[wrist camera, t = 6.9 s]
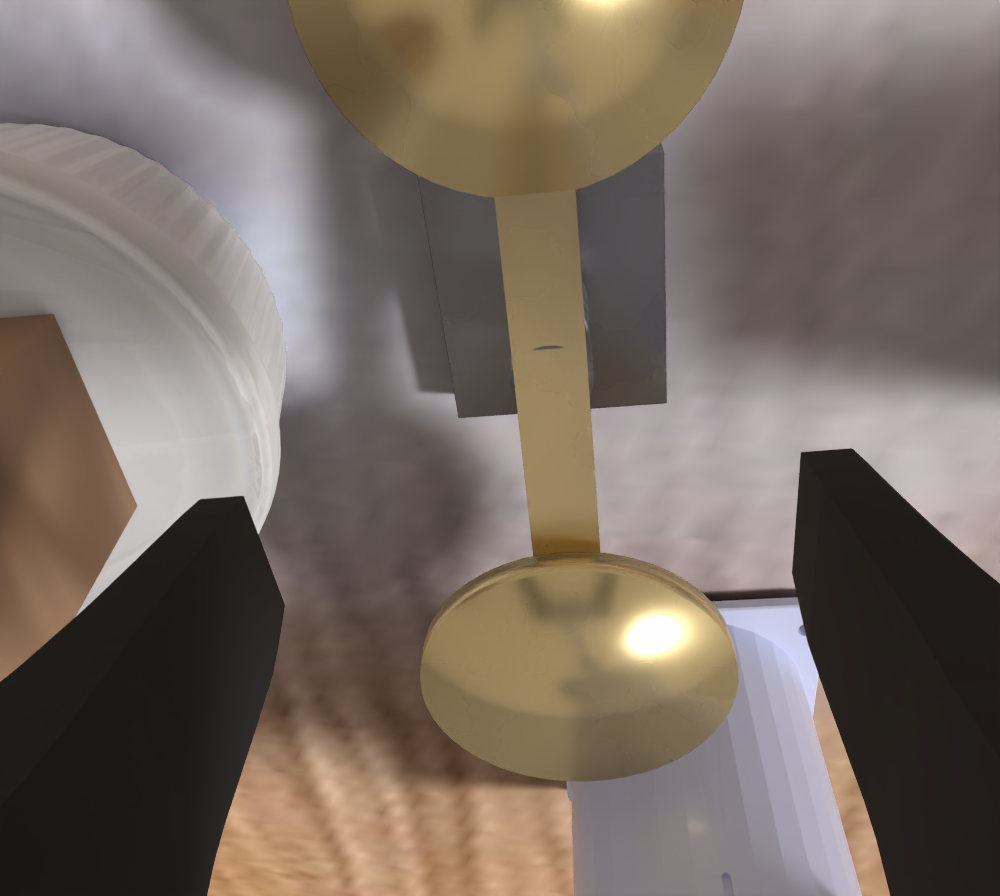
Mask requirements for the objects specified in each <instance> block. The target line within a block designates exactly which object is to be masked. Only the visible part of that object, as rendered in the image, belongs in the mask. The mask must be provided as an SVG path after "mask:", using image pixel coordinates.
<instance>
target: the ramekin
mask: <svg viewBox="0 0 1000 896" xmlns="http://www.w3.org/2000/svg"><path fill="white" fill-rule="evenodd" d="M44 314H54V316H55V318H56V320H57V323H58V325H59V327H60V329H61V332H62V334H63V336H64V339H65V341H66V343H67V345H68V348H69V350H70V352H71V355H72V357H73V359H74V362H75V364H76V366H77V368H78V371H79V373H80V375H81V378H82V380H83V382H84V384H85V387H86V389H87V391H88V394H89V396H90V398H91V400H92V403H93V405H94V407H95V410H96V412H97V414H98V417H99V419H100V421H101V423H102V426H103V428H104V430H105V433H106V435H107V437H108V439H109V442H110V444H111V446H112V449H113V451H114V453H115V455H116V458H117V460H118V462H119V465H120V467H121V469H122V472H123V474H124V476H125V478H126V481H127V483H128V485H129V488H130V490H131V492H132V494H133V497H134V499H135V501H136V504H137V508H136V510H135V512H134V513H133V515H132V517H131V519H130V520H129V522H128V524H127V526H126V528H125V529H124V531H123V533H122V535H121V537H120V538H119V540H118V542H117V544H116V545H115V547H114V549H113V551H112V553H111V554H110V556H109V558H108V560H107V562H106V563H105V565H104V567H103V569H102V570H101V572H100V574H99V576H98V578H97V579H96V581H95V583H94V585H93V587H92V588H91V590H90V592H89V594H88V595H87V597H86V599H85V601H84V603H83V604H82V606H81V608H80V610H79V612H78V613H77V615H78V614H79V613H80V612H82V611H83V610H84V609H85V608H86V607H87V606H88V605H89V604H90V603H91V602H92V601H93V600H95V599H96V598H97V597H98V596H99V595H100V594H101V593H102V592H103V591H104V590H105V589H106V588H107V587H108V586H109V585H110V584H111V583H112V582H113V581H114V580H115V579H116V578H117V577H119V576H120V575H121V574H122V573H123V572H124V571H125V570H126V569H127V568H128V567H129V566H130V565H131V564H132V563H133V562H134V561H135V560H136V559H137V558H138V557H139V556H140V555H141V554H142V553H143V552H144V551H145V550H146V549H147V548H148V547H150V546H151V545H152V544H153V543H154V542H155V541H156V540H157V539H158V538H159V537H160V536H161V535H162V534H163V533H164V532H165V531H166V530H167V529H168V528H169V527H170V526H171V525H172V524H173V523H174V522H175V521H176V520H177V519H178V518H180V517H181V516H182V515H183V514H184V513H185V512H186V511H187V510H188V509H189V508H190V507H192V506H193V505H194V504H195V503H196V502H197V501H198V500H200V499H208V498H221V497H233V496H244V498H245V501H246V503H247V506H248V509H249V511H250V514H251V517H252V519H253V522H254V525H255V527H256V530H257V533H258V534H259V532H260V530H261V528H262V526H263V524H264V522H265V520H266V517H267V515H268V512H269V510H270V507H271V504H272V501H273V498H274V495H275V491H276V486H277V481H278V476H279V468H280V457H281V446H280V428H279V419H280V413H281V406H282V400H283V394H284V387H285V381H286V363H285V360H286V343H285V339H284V335H283V323H282V319H281V316H280V314H279V312H278V309H277V305H276V300H275V297H274V294H273V292H272V290H271V288H270V287H269V285H268V282H267V280H266V277H265V275H264V273H263V270H262V268H261V267H260V265H259V264H258V263H257V261H256V260H255V259H254V257H253V255H252V253H251V250H250V249H249V247H248V246H247V245H246V243H245V242H244V241H243V240H242V239H241V238H240V236H239V235H238V234H237V232H236V231H235V229H234V228H233V227H232V225H231V224H230V223H229V222H228V221H227V220H226V219H225V218H224V217H223V216H221V215H220V213H219V212H218V211H217V210H216V209H215V207H214V206H213V205H212V204H211V203H210V202H209V201H208V200H206V199H205V198H203V197H202V196H201V195H199V194H198V193H197V192H196V191H195V190H194V189H193V188H192V187H191V186H190V185H189V184H188V183H187V182H186V181H184V180H183V179H181V178H179V177H177V176H175V175H174V174H172V173H171V172H170V171H168V170H167V169H166V168H165V167H164V166H163V165H162V164H160V163H158V162H156V161H154V160H151V159H149V158H147V157H145V156H143V155H141V154H140V153H139V152H137V151H136V150H134V149H131V148H129V147H126V146H122V145H119V144H117V143H115V142H113V141H111V140H109V139H107V138H104V137H101V136H97V135H89V134H86V133H83V132H80V131H78V130H75V129H72V128H67V127H53V126H48V125H43V124H15V123H1V124H0V318H7V317H19V316H31V315H44ZM77 615H76V616H77Z"/></svg>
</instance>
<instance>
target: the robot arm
mask: <svg viewBox="0 0 1000 896" xmlns="http://www.w3.org/2000/svg"><path fill="white" fill-rule="evenodd" d="M792 574H793V579H794V584H795V588H796V593H797V597H790V598H770V599H750V600H729V601H711V602H712V603H713V604H714V605H715V607H716V608H717V609H718V611H719V612H720V614H721V615H722V616H723V618H724V620H725V622H726V624H727V626H728V628H729V631H730V634H731V638H732V642H733V646H734V650H735V655H736V660H737V664H738V677H739V682H738V688H737V695H736V697H735V700H734V703H733V706H732V708H731V710H730V712H729V713H728V715H727V717H726V719H725V720H724V722H723V723H722V724H721V725H720V727H719V728H718V729H717V730H716V731H715V733H713V734H712V735H711V736H710V737H709V738H708V739H707V740H706V741H705V742H704V743H702V744H701V745H700V746H698V747H697V748H695V749H694V750H693V751H691V752H690V753H688V754H686V755H684V756H683V757H681V758H679V759H677V760H676V761H673V762H671V763H669V764H666V765H664V766H662V767H660V768H657V769H654V770H651V771H647V772H644V773H641V774H637V775H633V776H628V777H624V778H617V779H611V780H602V781H588V782H580V781H566V783H567V791H568V798H569V800H570V801H571V802H572V837H573V882H574V896H862V894H861V890H860V887H859V883H858V879H857V876H856V872H855V869H854V865H853V862H852V858H851V854H850V851H849V847H848V844H847V840H846V836H845V833H844V829H843V826H842V822H841V819H840V815H839V811H838V808H837V804H836V801H835V797H834V794H833V790H832V786H831V783H830V779H829V776H828V772H827V768H826V765H825V761H824V758H823V754H822V751H821V747H820V743H819V740H818V736H817V733H816V729H815V725H814V722H813V712H814V704H815V697H816V689H817V681H818V674H819V677H820V680H821V683H822V685H823V688H824V691H825V694H826V697H827V699H828V702H829V705H830V708H831V711H832V713H833V716H834V719H835V722H836V724H837V727H838V730H839V733H840V735H841V738H842V741H843V744H844V746H845V749H846V752H847V755H848V758H849V760H850V763H851V766H852V769H853V771H854V774H855V777H856V780H857V782H858V785H859V788H860V791H861V793H862V796H863V799H864V802H865V805H866V808H867V811H868V814H869V818H870V821H871V824H872V827H873V830H874V833H875V837H876V840H877V844H878V848H879V852H880V856H881V860H882V864H883V868H884V872H885V876H886V880H887V884H888V888H889V892H890V896H1000V584H999V583H998V582H997V581H996V580H995V579H993V578H992V577H991V576H990V575H989V574H987V573H986V572H985V571H984V570H983V569H981V568H980V567H979V566H978V565H977V564H975V563H974V562H973V561H972V560H971V559H970V558H969V557H968V556H966V555H965V554H964V553H963V552H962V551H961V550H960V549H958V548H957V547H956V546H955V545H954V544H953V543H952V542H951V541H949V540H948V539H947V538H946V537H945V536H944V535H943V534H941V533H940V532H939V531H938V530H937V529H936V528H935V527H934V526H933V525H932V524H931V523H929V522H928V521H927V520H926V519H925V518H924V517H923V516H922V515H921V514H920V513H919V512H918V511H917V510H916V509H915V508H913V507H912V506H911V505H910V504H909V503H908V502H907V501H906V500H905V499H904V498H903V497H902V496H901V495H900V494H899V493H898V492H897V491H896V490H895V489H894V488H893V487H892V486H891V485H890V484H889V483H888V482H887V481H886V480H885V479H883V478H882V477H881V476H880V475H879V474H878V473H877V472H876V471H875V470H874V469H873V468H872V467H871V466H870V465H869V464H868V463H867V462H866V461H865V460H864V459H863V458H862V457H861V456H860V455H859V454H858V453H856V452H855V451H854V450H853V449H839V450H826V451H813V452H801V459H800V473H799V487H798V501H797V514H796V528H795V542H794V556H793V569H792ZM284 607H285V605H284V602H283V599H282V597H281V594H280V591H279V589H278V586H277V583H276V581H275V578H274V575H273V573H272V570H271V567H270V565H269V562H268V559H267V557H266V554H265V551H264V549H263V546H262V543H261V541H260V538H259V535H258V533H257V530H256V527H255V525H254V522H253V519H252V517H251V514H250V511H249V509H248V506H247V503H246V501H245V498H244V496H233V497H221V498H208V499H200V500H198V501H197V502H196V503H195V504H194V505H193V506H192V507H190V508H189V509H188V510H187V511H186V512H185V513H184V514H183V515H182V516H181V517H180V518H178V519H177V520H176V521H175V522H174V523H173V524H172V525H171V526H170V527H169V528H168V529H167V530H166V531H165V532H164V533H163V534H162V535H161V536H160V537H159V538H158V539H157V540H156V541H155V542H154V543H153V544H152V545H151V546H150V547H148V548H147V549H146V550H145V551H144V552H143V553H142V554H141V555H140V556H139V557H138V558H137V559H136V560H135V561H134V562H133V563H132V564H131V565H130V566H129V567H128V568H127V569H126V570H125V571H124V572H123V573H122V574H121V575H120V576H119V577H117V578H116V579H115V580H114V581H113V582H112V583H111V584H110V585H109V586H108V587H107V588H106V589H105V590H104V591H103V592H102V593H101V594H100V595H99V596H98V597H97V598H96V599H95V600H93V601H92V602H91V603H90V604H89V605H88V606H87V607H86V608H85V609H84V610H83V611H82V612H80V613H79V614H78V615H77V616H76V617H75V618H74V619H72V620H71V621H70V622H69V623H68V624H67V625H66V626H65V627H63V628H62V629H61V630H60V631H59V632H58V633H57V634H56V635H54V636H53V637H52V638H51V639H50V640H49V641H48V642H47V643H45V644H44V645H43V646H42V647H41V648H40V649H39V650H37V651H36V652H35V653H34V654H33V655H32V656H31V657H30V658H28V659H27V660H26V661H25V662H24V663H23V664H21V665H20V666H19V667H18V668H17V669H15V670H14V671H13V672H12V673H11V674H9V675H8V676H7V677H6V678H4V679H3V680H2V681H1V682H0V896H207V893H208V888H209V884H210V879H211V874H212V870H213V865H214V861H215V857H216V853H217V850H218V846H219V843H220V839H221V835H222V832H223V828H224V825H225V822H226V819H227V816H228V812H229V809H230V806H231V803H232V800H233V797H234V794H235V791H236V788H237V785H238V782H239V779H240V776H241V772H242V769H243V766H244V763H245V760H246V757H247V754H248V751H249V748H250V745H251V742H252V739H253V736H254V733H255V729H256V726H257V723H258V720H259V717H260V714H261V711H262V707H263V704H264V701H265V698H266V695H267V692H268V688H269V685H270V682H271V678H272V675H273V670H274V665H275V660H276V655H277V650H278V644H279V638H280V632H281V626H282V620H283V613H284ZM802 625H804V626H802Z"/></svg>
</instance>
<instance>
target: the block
mask: <svg viewBox="0 0 1000 896" xmlns="http://www.w3.org/2000/svg"><path fill="white" fill-rule="evenodd" d="M136 508H137V504H136V501H135V499H134V497H133V494H132V492H131V490H130V488H129V485H128V483H127V481H126V478H125V476H124V474H123V472H122V469H121V467H120V465H119V462H118V460H117V458H116V455H115V453H114V451H113V449H112V446H111V444H110V442H109V439H108V437H107V435H106V433H105V430H104V428H103V426H102V423H101V421H100V419H99V417H98V414H97V412H96V410H95V407H94V405H93V403H92V400H91V398H90V396H89V394H88V391H87V389H86V387H85V384H84V382H83V380H82V378H81V375H80V373H79V371H78V368H77V366H76V364H75V362H74V359H73V357H72V355H71V352H70V350H69V348H68V345H67V343H66V341H65V339H64V336H63V334H62V332H61V329H60V327H59V325H58V323H57V320H56V318H55V316H54V314H44V315H31V316H19V317H7V318H0V682H1V681H2V680H3V679H4V678H6V677H7V676H8V675H9V674H11V673H12V672H13V671H14V670H15V669H17V668H18V667H19V666H20V665H21V664H23V663H24V662H25V661H26V660H27V659H28V658H30V657H31V656H32V655H33V654H34V653H35V652H36V651H37V650H39V649H40V648H41V647H42V646H43V645H44V644H45V643H47V642H48V641H49V640H50V639H51V638H52V637H53V636H54V635H56V634H57V633H58V632H59V631H60V630H61V629H62V628H63V627H65V626H66V625H67V624H68V623H69V622H70V621H71V620H72V619H74V618H75V617H76V615H77V613H78V612H79V610H80V608H81V606H82V604H83V603H84V601H85V599H86V597H87V595H88V594H89V592H90V590H91V588H92V587H93V585H94V583H95V581H96V579H97V578H98V576H99V574H100V572H101V570H102V569H103V567H104V565H105V563H106V562H107V560H108V558H109V556H110V554H111V553H112V551H113V549H114V547H115V545H116V544H117V542H118V540H119V538H120V537H121V535H122V533H123V531H124V529H125V528H126V526H127V524H128V522H129V520H130V519H131V517H132V515H133V513H134V512H135V510H136Z"/></svg>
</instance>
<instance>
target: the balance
mask: <svg viewBox="0 0 1000 896" xmlns="http://www.w3.org/2000/svg"><path fill="white" fill-rule="evenodd" d="M288 3H289V7H290V10H291V13H292V17H293V20H294V24H295V27H296V31H297V34H298V36H299V38H300V41H301V43H302V46H303V48H304V51H305V53H306V55H307V58H308V60H309V62H310V64H311V66H312V68H313V69H314V71H315V73H316V75H317V77H318V78H319V80H320V82H321V84H322V86H323V87H324V89H325V90H326V92H327V93H328V95H329V96H330V97H331V99H332V100H333V102H334V103H335V104H336V106H337V107H338V109H339V110H340V111H341V113H342V114H343V115H344V116H345V117H346V118H347V119H348V120H349V122H350V123H351V124H352V125H353V126H354V127H355V128H356V129H357V130H358V131H359V132H360V134H361V135H362V136H364V137H365V138H366V139H367V140H368V141H369V142H371V143H372V144H373V145H374V146H375V147H376V148H377V149H379V150H380V151H381V152H382V153H383V154H385V155H386V156H388V157H389V158H391V159H392V160H394V161H395V162H397V163H398V164H400V165H401V166H403V167H404V168H406V169H407V170H409V171H411V172H413V173H415V174H417V175H418V182H419V187H420V193H421V199H422V205H423V211H424V217H425V223H426V229H427V235H428V240H429V246H430V252H431V258H432V264H433V270H434V276H435V282H436V288H437V293H438V299H439V305H440V311H441V317H442V323H443V329H444V335H445V341H446V346H447V352H448V358H449V364H450V370H451V376H452V382H453V388H454V394H455V400H456V405H457V411H458V417H459V418H466V417H480V416H494V415H508V414H518V420H519V429H520V438H521V447H522V456H523V466H524V475H525V484H526V493H527V502H528V511H529V521H530V530H531V539H532V548H533V557H528V558H523V559H520V560H517V561H513V562H510V563H507V564H504V565H501V566H499V567H497V568H494V569H492V570H490V571H488V572H485V573H483V574H482V575H480V576H478V577H477V578H475V579H473V580H471V581H470V582H468V583H467V584H465V585H464V586H463V587H462V588H460V589H459V590H458V591H457V592H455V593H454V594H453V595H452V596H451V597H450V598H449V599H448V600H447V601H446V602H445V603H444V604H443V605H442V607H441V608H440V609H439V611H438V612H437V614H436V615H435V617H434V618H433V620H432V622H431V624H430V627H429V629H428V631H427V634H426V638H425V642H424V646H423V653H422V660H421V669H420V684H421V691H422V695H423V698H424V701H425V704H426V707H427V708H428V710H429V712H430V714H431V716H432V717H433V719H434V720H435V722H436V723H437V724H438V725H439V727H440V728H441V729H442V731H443V732H444V733H446V734H447V735H448V736H449V737H450V738H451V739H452V740H453V741H454V742H455V743H457V744H458V745H459V746H461V747H462V748H463V749H465V750H466V751H468V752H469V753H471V754H473V755H474V756H476V757H478V758H480V759H481V760H484V761H486V762H488V763H490V764H492V765H495V766H497V767H500V768H503V769H506V770H508V771H511V772H514V773H518V774H522V775H526V776H530V777H536V778H542V779H548V780H558V781H580V782H588V781H602V780H611V779H617V778H624V777H628V776H633V775H637V774H641V773H644V772H647V771H651V770H654V769H657V768H660V767H662V766H664V765H666V764H669V763H671V762H673V761H676V760H677V759H679V758H681V757H683V756H684V755H686V754H688V753H690V752H691V751H693V750H694V749H695V748H697V747H698V746H700V745H701V744H702V743H704V742H705V741H706V740H707V739H708V738H709V737H710V736H711V735H712V734H713V733H715V731H716V730H717V729H718V728H719V727H720V725H721V724H722V723H723V722H724V720H725V719H726V717H727V715H728V713H729V712H730V710H731V708H732V706H733V703H734V700H735V697H736V695H737V688H738V682H739V677H738V664H737V660H736V655H735V650H734V646H733V642H732V638H731V634H730V631H729V628H728V626H727V624H726V622H725V620H724V618H723V616H722V615H721V614H720V612H719V611H718V609H717V608H716V607H715V605H714V604H713V603H712V602H711V601H710V600H709V599H708V598H707V597H706V596H705V595H704V594H703V593H702V592H701V591H699V590H698V589H697V588H696V587H694V586H693V585H692V584H690V583H689V582H688V581H686V580H684V579H682V578H681V577H679V576H677V575H675V574H674V573H672V572H670V571H667V570H665V569H663V568H660V567H658V566H656V565H653V564H650V563H647V562H644V561H640V560H637V559H634V558H630V557H624V556H619V555H614V554H607V553H600V541H599V526H598V512H597V497H596V483H595V468H594V453H593V439H592V424H591V409H592V408H606V407H620V406H634V405H648V404H662V403H667V392H666V300H665V207H664V151H663V148H662V145H661V142H662V141H663V140H664V139H665V138H666V137H667V136H668V135H669V134H670V133H671V132H672V131H673V130H674V129H675V128H676V127H677V126H678V125H679V124H680V123H681V122H682V121H683V119H684V118H685V117H686V116H687V114H688V113H689V112H690V111H691V110H692V108H693V107H694V106H695V105H696V103H697V102H698V101H699V100H700V98H701V96H702V95H703V93H704V92H705V90H706V89H707V87H708V85H709V84H710V82H711V81H712V79H713V77H714V76H715V74H716V72H717V70H718V68H719V66H720V64H721V62H722V60H723V58H724V56H725V54H726V52H727V49H728V47H729V45H730V43H731V40H732V37H733V34H734V31H735V28H736V25H737V22H738V19H739V16H740V14H741V9H742V5H743V0H288Z"/></svg>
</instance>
